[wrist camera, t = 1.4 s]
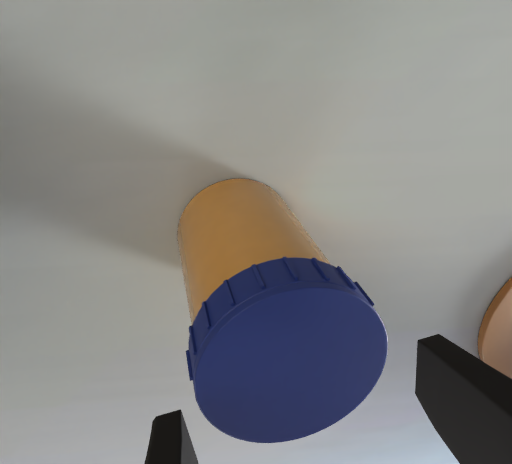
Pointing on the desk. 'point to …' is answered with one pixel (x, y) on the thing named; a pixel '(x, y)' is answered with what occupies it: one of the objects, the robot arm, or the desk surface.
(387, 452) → the desk surface
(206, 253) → the jar
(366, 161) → the desk surface
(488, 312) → the coaster
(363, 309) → the lid
